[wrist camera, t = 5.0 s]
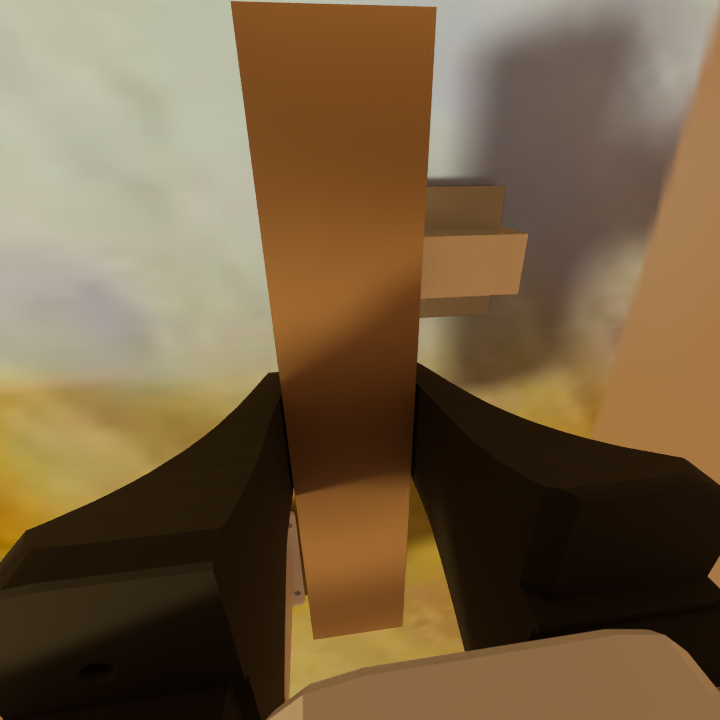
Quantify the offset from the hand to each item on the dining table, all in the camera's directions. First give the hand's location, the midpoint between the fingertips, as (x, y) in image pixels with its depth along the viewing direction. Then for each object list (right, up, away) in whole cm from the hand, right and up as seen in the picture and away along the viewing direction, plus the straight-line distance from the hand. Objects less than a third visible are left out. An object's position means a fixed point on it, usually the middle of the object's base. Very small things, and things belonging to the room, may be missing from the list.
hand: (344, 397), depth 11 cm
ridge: (+3, +6, +7) cm, 10 cm away
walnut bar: (0, +1, +2) cm, 2 cm away
